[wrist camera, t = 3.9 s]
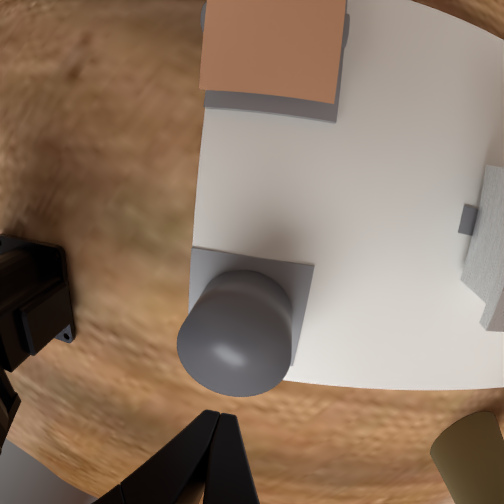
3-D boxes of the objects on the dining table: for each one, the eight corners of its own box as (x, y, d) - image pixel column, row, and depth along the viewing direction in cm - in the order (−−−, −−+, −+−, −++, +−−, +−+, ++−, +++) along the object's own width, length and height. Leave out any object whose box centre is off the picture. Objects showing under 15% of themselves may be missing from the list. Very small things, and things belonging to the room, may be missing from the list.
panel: (198, 341, 17) (184, 370, 15) (235, -8, 11) (224, -34, 9) (493, 369, 16) (510, 392, 13) (559, 92, 10) (586, 90, 7)
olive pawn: (486, 399, 16) (544, 514, 6) (501, 429, 17) (545, 525, 7) (418, 445, 18) (449, 568, 8) (443, 468, 19) (470, 569, 9)
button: (197, 343, 14) (177, 385, 12) (201, 262, 13) (177, 293, 10) (283, 358, 14) (280, 403, 11) (300, 278, 13) (301, 314, 10)
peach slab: (206, 88, 10) (192, 89, 9) (219, -37, 8) (207, -53, 6) (335, 102, 10) (340, 105, 8) (348, -27, 7) (355, -42, 6)
